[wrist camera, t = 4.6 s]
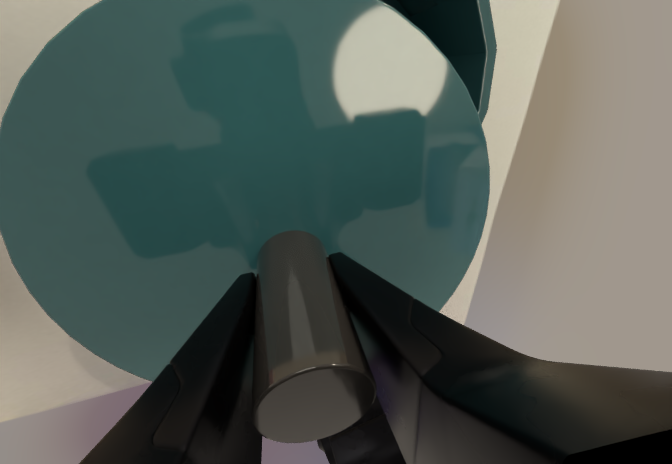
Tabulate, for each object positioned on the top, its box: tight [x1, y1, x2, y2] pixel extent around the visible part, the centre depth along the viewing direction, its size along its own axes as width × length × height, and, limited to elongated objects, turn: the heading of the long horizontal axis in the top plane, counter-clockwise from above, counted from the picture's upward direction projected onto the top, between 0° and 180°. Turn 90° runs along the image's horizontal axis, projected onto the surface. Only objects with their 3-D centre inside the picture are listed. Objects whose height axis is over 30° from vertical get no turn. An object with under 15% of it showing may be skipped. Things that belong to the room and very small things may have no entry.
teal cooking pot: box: [381, 0, 497, 124], centre depth 15 cm, size 14×20×6 cm
